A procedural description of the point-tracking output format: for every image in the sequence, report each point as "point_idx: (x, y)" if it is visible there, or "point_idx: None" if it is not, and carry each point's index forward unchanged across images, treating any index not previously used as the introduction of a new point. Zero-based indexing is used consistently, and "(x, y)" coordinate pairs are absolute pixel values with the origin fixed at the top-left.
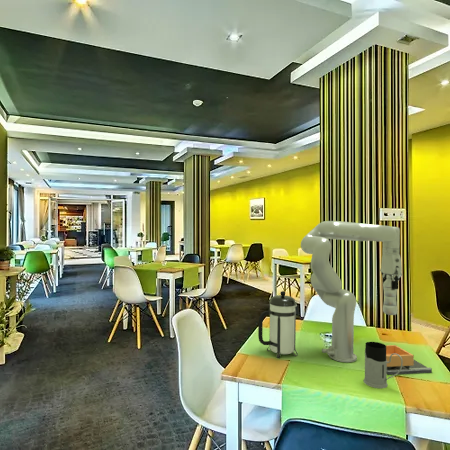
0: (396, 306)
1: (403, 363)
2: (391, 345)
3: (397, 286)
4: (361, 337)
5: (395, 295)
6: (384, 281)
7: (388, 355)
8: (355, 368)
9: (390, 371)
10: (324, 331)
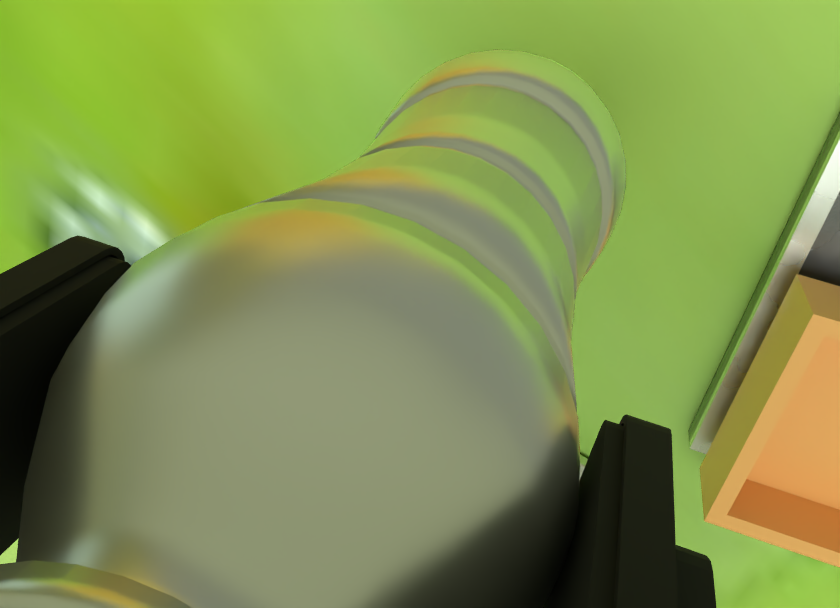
0: (600, 166)
1: None
2: (800, 361)
3: (705, 575)
4: (204, 44)
5: (573, 298)
6: (4, 528)
7: (809, 391)
8: (717, 583)
9: None
10: (29, 243)
